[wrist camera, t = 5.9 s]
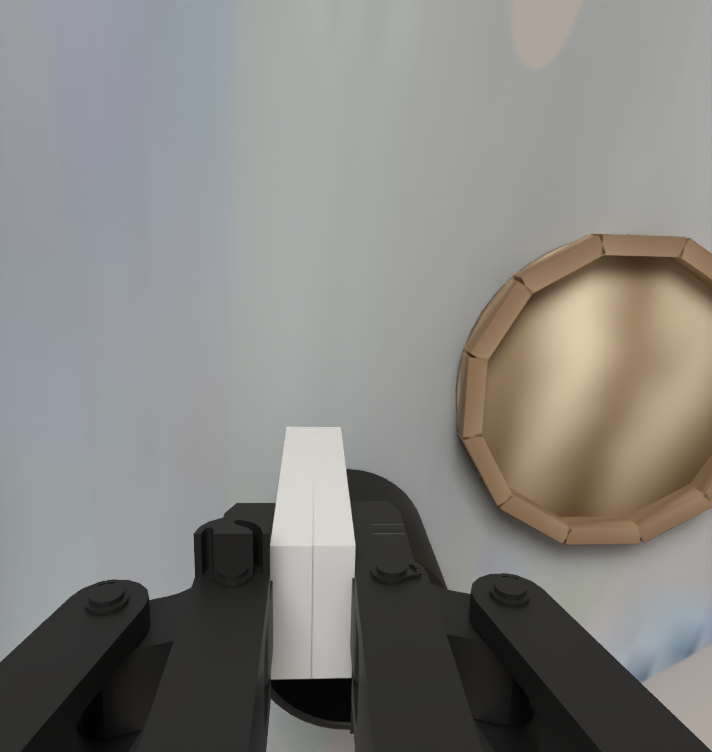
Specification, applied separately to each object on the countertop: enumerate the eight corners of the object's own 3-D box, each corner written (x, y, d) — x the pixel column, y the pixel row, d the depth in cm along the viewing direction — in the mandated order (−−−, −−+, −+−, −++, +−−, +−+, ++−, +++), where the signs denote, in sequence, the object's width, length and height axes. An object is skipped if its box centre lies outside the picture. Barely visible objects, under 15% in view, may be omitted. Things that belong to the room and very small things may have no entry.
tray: (446, 527, 37) (454, 545, 35) (466, 230, 33) (478, 230, 31) (720, 524, 38) (745, 542, 36) (773, 239, 34) (804, 240, 32)
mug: (300, 665, 38) (298, 797, 30) (240, 492, 35) (218, 581, 27) (448, 623, 38) (490, 742, 30) (401, 446, 35) (432, 520, 27)
